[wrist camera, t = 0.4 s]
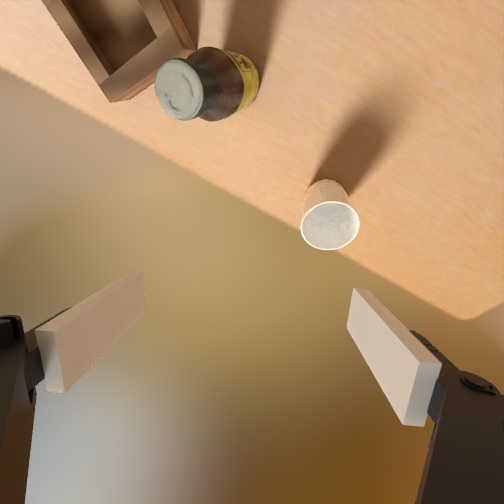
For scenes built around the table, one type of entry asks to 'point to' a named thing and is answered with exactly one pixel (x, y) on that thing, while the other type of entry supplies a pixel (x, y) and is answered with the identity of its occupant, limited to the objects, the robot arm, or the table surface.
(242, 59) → the sauce bottle
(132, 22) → the crate
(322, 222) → the white cup
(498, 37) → the table surface
